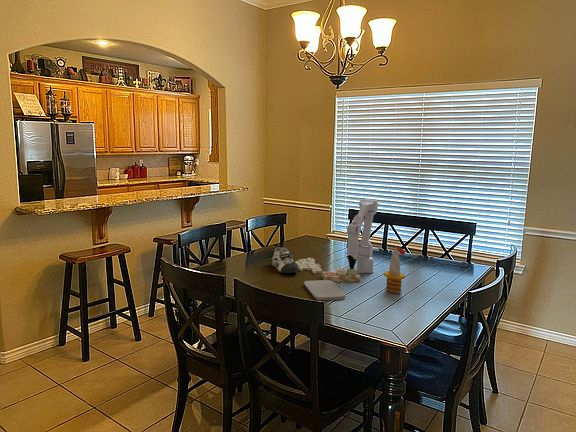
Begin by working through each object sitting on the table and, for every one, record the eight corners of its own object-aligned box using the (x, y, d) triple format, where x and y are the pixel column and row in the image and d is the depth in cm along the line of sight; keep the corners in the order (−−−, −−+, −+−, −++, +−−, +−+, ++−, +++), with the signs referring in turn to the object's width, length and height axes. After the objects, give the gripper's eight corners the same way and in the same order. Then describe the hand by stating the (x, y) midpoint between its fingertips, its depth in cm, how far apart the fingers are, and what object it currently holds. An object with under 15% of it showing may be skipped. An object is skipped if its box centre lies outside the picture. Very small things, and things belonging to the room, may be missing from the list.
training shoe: (285, 277, 251) (286, 255, 248) (266, 264, 276) (266, 244, 274) (302, 275, 255) (303, 254, 253) (281, 262, 281) (282, 243, 279)
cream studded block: (343, 272, 252) (344, 267, 251) (345, 275, 248) (346, 269, 247) (336, 272, 251) (336, 267, 251) (338, 275, 247) (338, 269, 247)
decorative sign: (290, 258, 286) (312, 257, 289) (290, 261, 286) (312, 260, 290) (301, 271, 256) (326, 270, 260) (301, 275, 257) (326, 274, 260)
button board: (355, 276, 256) (355, 271, 256) (360, 281, 246) (360, 276, 246) (321, 276, 254) (322, 271, 253) (325, 281, 244) (325, 276, 244)
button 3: (333, 277, 252) (333, 271, 251) (335, 279, 247) (335, 273, 247) (326, 277, 251) (326, 271, 251) (327, 279, 247) (327, 273, 246)
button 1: (354, 272, 253) (354, 267, 252) (356, 275, 248) (356, 269, 248) (346, 272, 252) (346, 267, 252) (348, 275, 248) (348, 269, 247)
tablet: (330, 283, 242) (331, 279, 242) (347, 300, 217) (347, 296, 217) (302, 285, 239) (302, 281, 238) (316, 302, 214) (316, 297, 213)
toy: (411, 264, 215) (391, 245, 224) (390, 299, 227) (372, 279, 237) (422, 262, 220) (403, 243, 229) (401, 296, 233) (383, 277, 242)
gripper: (343, 242, 254) (341, 264, 256) (349, 248, 240) (347, 272, 242) (354, 242, 255) (353, 264, 257) (361, 248, 241) (360, 272, 243)
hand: (351, 268), depth 250 cm, fingers closed
